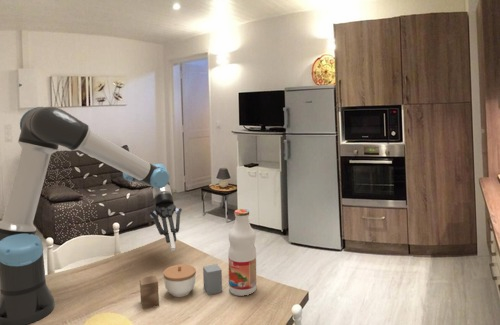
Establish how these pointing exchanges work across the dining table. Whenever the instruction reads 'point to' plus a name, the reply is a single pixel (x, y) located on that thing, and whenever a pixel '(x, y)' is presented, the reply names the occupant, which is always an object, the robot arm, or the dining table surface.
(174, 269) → the lidded jar
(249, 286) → the fruit juice
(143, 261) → the dining table surface
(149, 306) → the walnut block
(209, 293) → the grey block
